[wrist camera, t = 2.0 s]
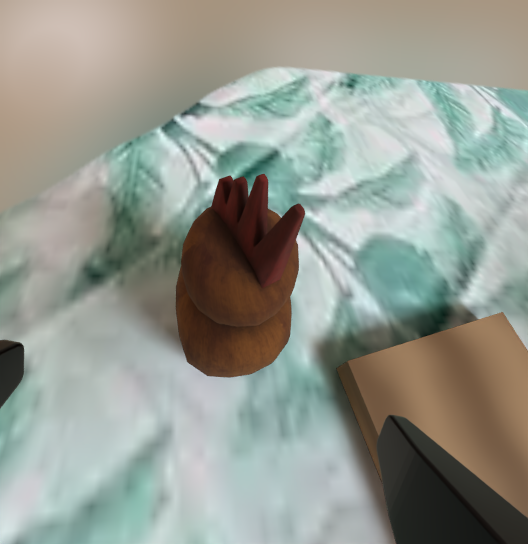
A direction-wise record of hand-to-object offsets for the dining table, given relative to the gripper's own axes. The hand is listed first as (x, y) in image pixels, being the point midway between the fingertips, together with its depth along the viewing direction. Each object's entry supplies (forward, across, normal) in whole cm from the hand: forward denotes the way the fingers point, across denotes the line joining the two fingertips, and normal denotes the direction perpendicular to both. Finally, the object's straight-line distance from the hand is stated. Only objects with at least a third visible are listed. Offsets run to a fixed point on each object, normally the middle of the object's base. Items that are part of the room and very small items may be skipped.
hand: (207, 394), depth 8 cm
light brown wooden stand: (+10, -15, +7) cm, 20 cm away
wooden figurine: (+13, 0, +5) cm, 14 cm away
